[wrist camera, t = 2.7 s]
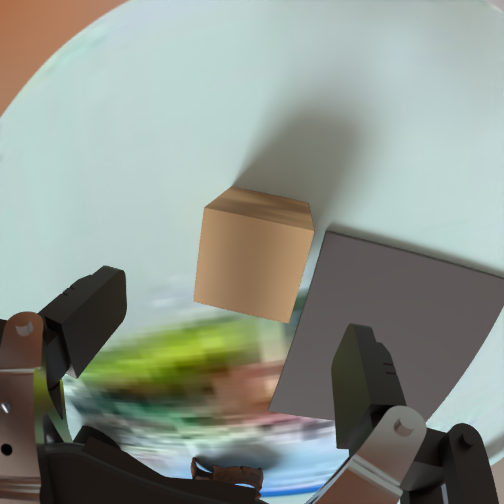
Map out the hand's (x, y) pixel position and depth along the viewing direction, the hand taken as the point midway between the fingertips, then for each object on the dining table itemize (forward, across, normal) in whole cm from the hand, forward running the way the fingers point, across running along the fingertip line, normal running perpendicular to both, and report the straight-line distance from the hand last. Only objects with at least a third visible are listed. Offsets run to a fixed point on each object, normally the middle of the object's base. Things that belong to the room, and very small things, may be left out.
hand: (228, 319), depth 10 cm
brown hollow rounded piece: (+10, -2, +34) cm, 36 cm away
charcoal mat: (+10, -13, +8) cm, 18 cm away
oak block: (+10, 0, 0) cm, 10 cm away
